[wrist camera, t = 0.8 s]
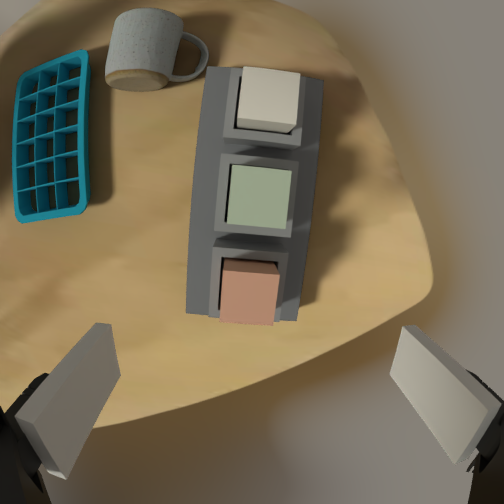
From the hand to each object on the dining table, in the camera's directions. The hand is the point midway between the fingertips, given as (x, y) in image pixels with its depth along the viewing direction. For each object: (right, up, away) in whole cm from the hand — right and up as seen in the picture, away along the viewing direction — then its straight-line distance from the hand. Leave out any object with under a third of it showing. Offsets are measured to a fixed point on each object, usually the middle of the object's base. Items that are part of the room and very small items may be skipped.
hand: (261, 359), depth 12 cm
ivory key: (+1, +17, +12) cm, 21 cm away
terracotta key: (-1, +2, +16) cm, 16 cm away
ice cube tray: (-25, +19, +17) cm, 35 cm away
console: (0, +11, +20) cm, 22 cm away
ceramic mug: (-11, +26, +16) cm, 33 cm away
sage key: (0, +10, +14) cm, 17 cm away
